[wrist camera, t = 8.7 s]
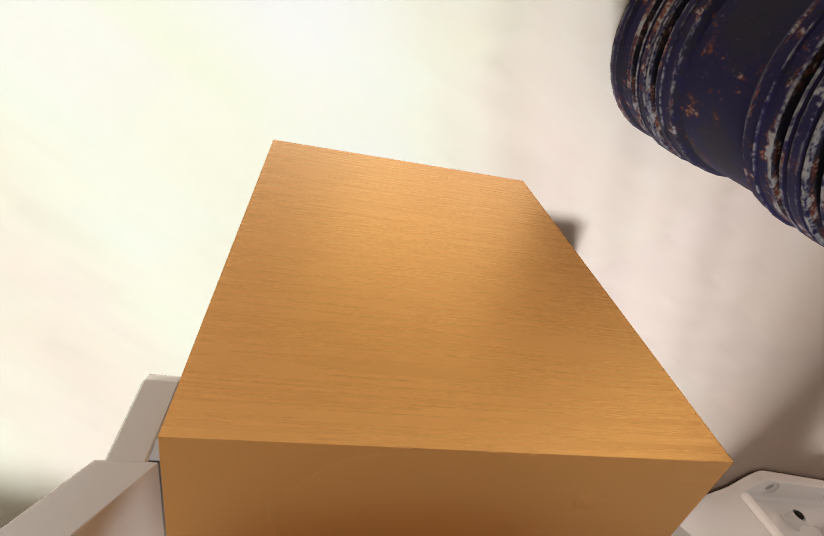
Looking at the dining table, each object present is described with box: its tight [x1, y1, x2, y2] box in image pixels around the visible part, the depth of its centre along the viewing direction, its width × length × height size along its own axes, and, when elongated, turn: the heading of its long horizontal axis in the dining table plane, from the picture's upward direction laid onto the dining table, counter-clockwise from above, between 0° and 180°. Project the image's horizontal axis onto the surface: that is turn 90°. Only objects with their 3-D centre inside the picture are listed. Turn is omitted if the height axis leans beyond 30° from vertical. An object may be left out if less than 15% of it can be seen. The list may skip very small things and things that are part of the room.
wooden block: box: [158, 140, 734, 536], centre depth 8 cm, size 4×8×6 cm, turn 168°
